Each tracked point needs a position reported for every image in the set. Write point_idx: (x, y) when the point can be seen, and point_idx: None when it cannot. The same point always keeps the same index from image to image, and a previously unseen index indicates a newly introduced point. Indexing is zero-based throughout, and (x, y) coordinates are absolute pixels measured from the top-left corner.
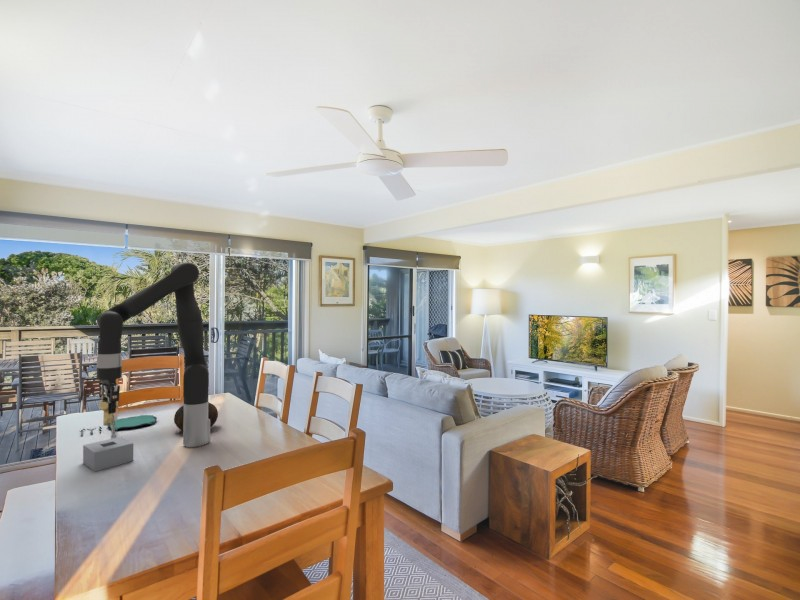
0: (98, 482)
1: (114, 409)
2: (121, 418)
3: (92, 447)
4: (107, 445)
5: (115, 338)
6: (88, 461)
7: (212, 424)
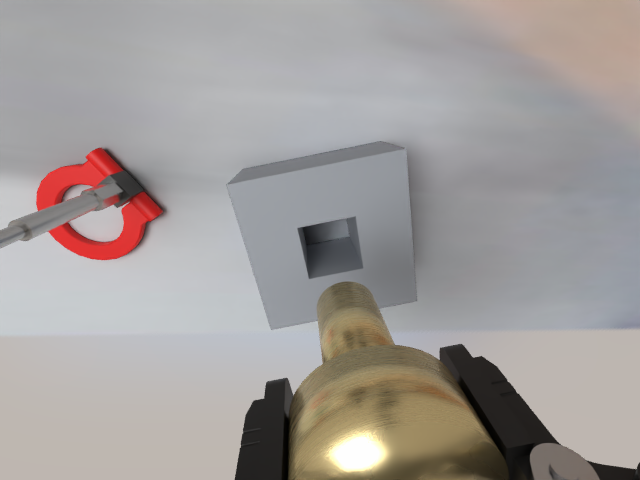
0: (503, 259)
1: (500, 379)
2: None
3: None
4: (302, 245)
5: None
6: None
7: None
